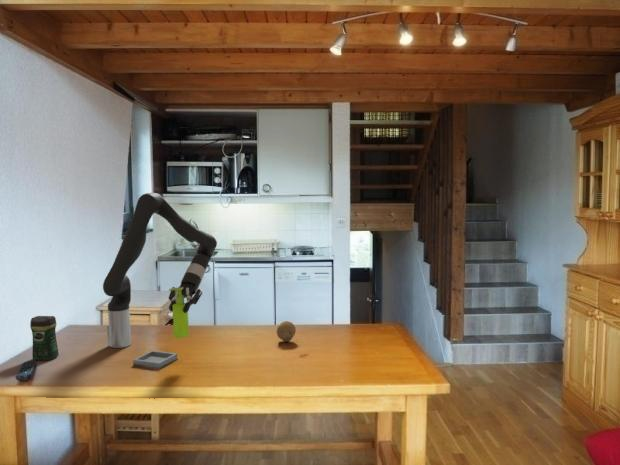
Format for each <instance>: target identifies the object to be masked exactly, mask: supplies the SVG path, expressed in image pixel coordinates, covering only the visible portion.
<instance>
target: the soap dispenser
mask: <svg viewBox="0 0 620 465" xmlns="http://www.w3.org/2000/svg"><path fill="white" fill-rule="evenodd" d="M171 290H177V296H175V300H176V304H173V311H172V319H173V320H172V321H173V337H174V338H175V339H184V338H185V339H186V338H187V337H189V336H190V332H189V330H190V329H189V311H188V312H187V313H184V312H183V308H184V306H185V304H186V303H187V302H185V298H184V296H183V295H182V290H183V288H178V287H175V288H172V287H171V288H169V290H168V291H170V292H171Z"/></svg>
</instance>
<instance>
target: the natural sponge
mask: <svg viewBox="0 0 620 465" xmlns="http://www.w3.org/2000/svg"><path fill="white" fill-rule="evenodd" d="M296 332H297V330H296V326H295V325H294V323H293V322H291V321H287V320H285V321H283V322H281V323H280V324H279V325H278V326H277V328H276V334H277V338H279V339H280V340H282V341H283V342H285V343H289V342H291V341H292V339H293V338H294V337H295V334H296Z"/></svg>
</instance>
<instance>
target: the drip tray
mask: <svg viewBox="0 0 620 465" xmlns="http://www.w3.org/2000/svg"><path fill="white" fill-rule="evenodd" d="M176 360H178V353H175V352H168V351H159V350H150V351H148V352H146V353H144V354H142V355H140V356H138V357H136V358H134V359H132V364H133V366H135V367H142V368H147V369H156V370H161V369H163V368H164V367H166V366H168V365H171V364H172V363H173V362H175V361H176Z"/></svg>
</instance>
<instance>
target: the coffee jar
mask: <svg viewBox="0 0 620 465" xmlns="http://www.w3.org/2000/svg"><path fill="white" fill-rule="evenodd" d="M29 328H30V330H31V335H32V351H31V352H32V360H33V361H50V360H54V359H56V358H58V356H59V347H58V341H57V334H56V333H57V332H56V328H57V319H56V317H55V316H54V315H36V316H33V317H31V319H30V327H29Z"/></svg>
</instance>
